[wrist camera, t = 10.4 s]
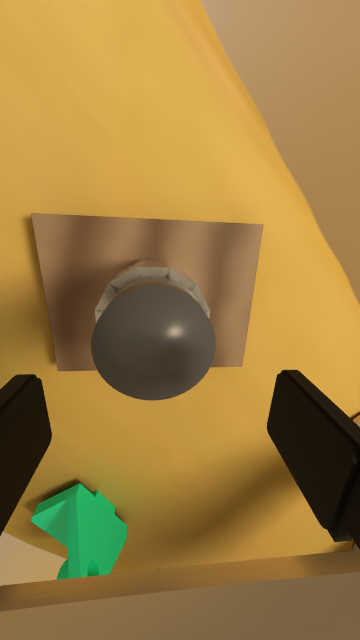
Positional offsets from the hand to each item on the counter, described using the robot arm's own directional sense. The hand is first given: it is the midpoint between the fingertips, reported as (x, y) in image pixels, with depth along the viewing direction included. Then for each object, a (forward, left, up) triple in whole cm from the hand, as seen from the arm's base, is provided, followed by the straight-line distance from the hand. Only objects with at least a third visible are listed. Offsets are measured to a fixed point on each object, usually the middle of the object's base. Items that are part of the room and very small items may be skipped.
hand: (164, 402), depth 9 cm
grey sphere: (0, 0, -11) cm, 11 cm away
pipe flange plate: (0, 0, -16) cm, 16 cm away
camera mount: (+11, +33, -17) cm, 38 cm away
